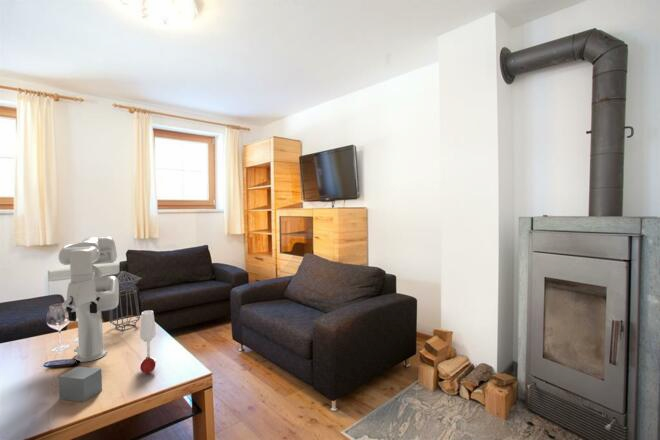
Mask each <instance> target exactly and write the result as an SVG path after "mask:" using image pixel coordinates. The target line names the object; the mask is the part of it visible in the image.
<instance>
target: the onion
mask: <svg viewBox="0 0 660 440" xmlns="http://www.w3.org/2000/svg"><path fill="white" fill-rule="evenodd" d="M150 357H151V356H150ZM150 357H147V356H146V357H145V359H144V361H143V360H142V361H143V362H142V361H141V362H142V363H141V362H140V367H139V370H140V371H141V372H142V373H143V374H146V375H149V374H151V373H152V372H153V371H155V368H156V362H155V361H154V360H153V359H152V358H153V357H151V358H150Z"/></svg>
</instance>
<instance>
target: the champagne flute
mask: <svg viewBox="0 0 660 440" xmlns="http://www.w3.org/2000/svg"><path fill="white" fill-rule="evenodd" d="M139 331H140V332H139V338H140V339H141V340H142V341H143V342H145V343H146V357H150V358H152V359H153V360H154V361H155V363H156V362H157V360H158V359H157V358H155V357H151V351H150V350H151V346H150V345H151V344H150V343H151V341H152V340H153V339H154V338H155V337H156V335H157V331H156V322H155V314H154V310H144V311H142V312H141V315H140V330H139ZM144 360H145V359H144ZM144 360H142V361H141V362H140V364H141V363H142V362H143V361H144Z"/></svg>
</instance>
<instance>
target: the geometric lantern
mask: <svg viewBox="0 0 660 440" xmlns="http://www.w3.org/2000/svg"><path fill="white" fill-rule="evenodd" d="M113 276H115V277H117V279H118V282H119V286H120V287H122V288H123V289H122V290H119V305H118V306H119V307H120V316H121V317H120V318H119V317H118V315H119V314H118V313H119V312H118V309H119V308H118V306H117V307H116V319H113V311H114V309H111V310H109V323H110V324H112V325H114V326H115V329H116V330H119V331H123V332H124V331H127V330H129V329H134V328H135V327H137V324H136V323H137V322H139V320H141V315H140V309H139V300H138V299H139V298H138V293H137V292H138V290H136V289H135V288H134V286H136V284H138V282H139V281H140V280H142V279H143V278H142V277H140V276H138V275H135V274H133V273H130V272H128V271H126V270H125V271H123V270H121V271H119V272H118V273H116V274H114V275H113ZM126 280H127V281H126ZM126 283H130V285H127V284H126ZM123 284H124V285H123ZM133 285H134V286H133ZM126 288H129V289H126ZM131 291H132V292H131ZM122 292H125V293H124V294H122ZM131 294H133V297H134V303H135V311H136V315H137V316H136V315H133V306H132V299H131ZM128 295H129V302H130V303H129V304H130V311H131V315H129V311H128V307H129V306H128ZM121 296H125V298H126V299H125V300H126V316H123V311H122V310H123V309H122V308H123V307H122V299H121ZM129 317H130V318H129ZM125 318H126V321H124V320H123V319H125ZM128 318H129V319H128ZM133 318H137V319H134V320H132V319H133ZM119 320H121V323H119ZM115 321H116V323H115ZM128 326H132V327H129V328H126V327H128ZM120 328H121V329H120Z"/></svg>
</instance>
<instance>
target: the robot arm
mask: <svg viewBox="0 0 660 440" xmlns="http://www.w3.org/2000/svg"><path fill="white" fill-rule="evenodd" d="M116 246H117V245H116V243H115V241H114V239H113V237H111V236H93V237H86V238H84V239H83V240H82V241H81V242H76V243H72V244H68V245H67V244H66V245H65V246H63V247H61V249H60V251H59V253H58V261H59V263H61V264H62V265H63V266H69V267H70V269H69V270H70V271H69V272H70V282H68V286H67V292H66V300H65V301H63V302H62V303H61V306H62V308H63V310H64V311H65V312H67V315H68V317H67V318H68V322H76V321H77V330H78V331H77V332H78V333H77V335H78V336H77V337H78V346H76V347H75V349H73V352H74V353H77V355H76V356H75V358H74V360H75V359H77V360H80V362H79V363H87V362H88V363H89V362H93V361H96V360H98V359H101V358H103V357H104V356H106V355H107V353H108V350H107V349H106V348H104V338H103V335H104V334H103V318H102V317H101V316H100V315H99V313H98V312H105V311H110V310H111V311H112V309H113V310H114V309H117V306H119V302H120V298H119V294H120V292H119V291H120V285H119V283H120V282H119V281H118V280H119V279H117V277H116V276H114V275H106V276H103V271H102V270H101V269H99V268H98V266H95V265H107V264H113V263H114V262H116V261H117V257H118V254H117V249H116V248H117V247H116Z"/></svg>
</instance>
